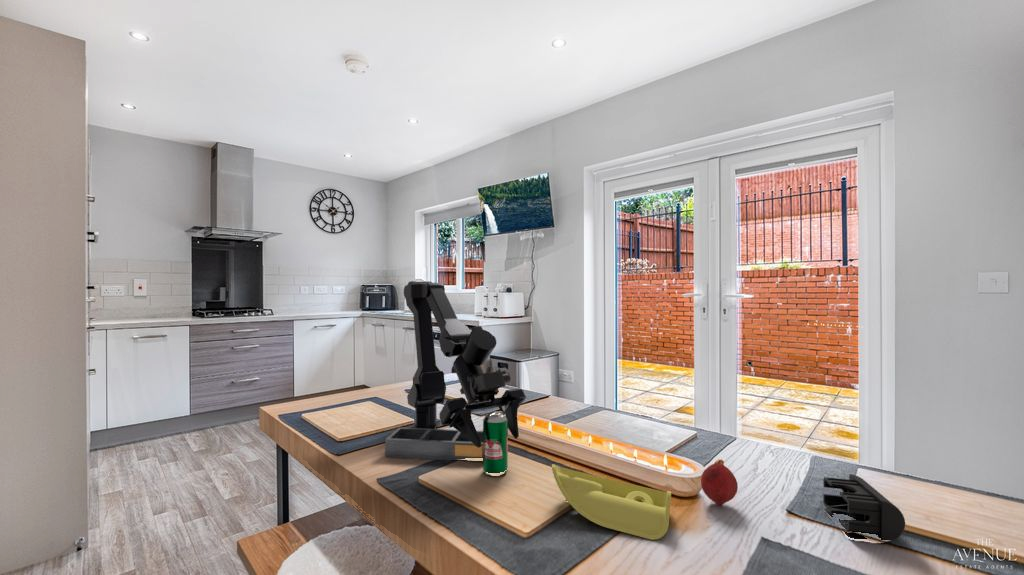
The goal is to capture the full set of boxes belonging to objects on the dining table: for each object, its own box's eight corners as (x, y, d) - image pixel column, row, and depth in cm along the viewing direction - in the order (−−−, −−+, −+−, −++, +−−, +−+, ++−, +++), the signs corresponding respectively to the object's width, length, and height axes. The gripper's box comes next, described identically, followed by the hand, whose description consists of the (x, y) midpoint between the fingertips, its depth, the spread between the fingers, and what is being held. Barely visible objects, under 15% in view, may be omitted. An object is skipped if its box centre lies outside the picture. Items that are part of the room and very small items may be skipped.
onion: (721, 516, 75) (722, 468, 75) (693, 501, 80) (693, 456, 80) (744, 508, 78) (744, 462, 77) (715, 494, 83) (715, 451, 83)
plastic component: (670, 493, 78) (671, 491, 70) (666, 540, 76) (667, 544, 67) (560, 467, 85) (549, 462, 77) (553, 509, 83) (540, 509, 74)
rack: (398, 444, 108) (398, 427, 108) (493, 448, 105) (493, 431, 105) (384, 457, 99) (384, 439, 99) (487, 462, 97) (487, 444, 97)
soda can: (478, 475, 90) (479, 416, 90) (489, 465, 95) (489, 409, 95) (502, 479, 89) (502, 419, 88) (511, 469, 93) (511, 412, 93)
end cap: (905, 549, 66) (906, 503, 66) (850, 542, 68) (850, 498, 67) (869, 515, 75) (870, 475, 75) (821, 510, 77) (822, 471, 77)
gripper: (445, 360, 90) (472, 430, 81) (521, 352, 100) (552, 413, 91) (429, 391, 96) (452, 459, 87) (502, 380, 107) (529, 440, 98)
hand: (499, 442), depth 91 cm, fingers open, 9 cm apart
